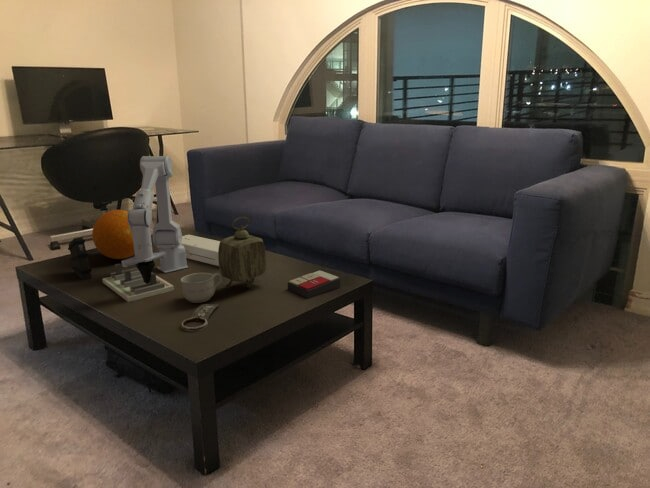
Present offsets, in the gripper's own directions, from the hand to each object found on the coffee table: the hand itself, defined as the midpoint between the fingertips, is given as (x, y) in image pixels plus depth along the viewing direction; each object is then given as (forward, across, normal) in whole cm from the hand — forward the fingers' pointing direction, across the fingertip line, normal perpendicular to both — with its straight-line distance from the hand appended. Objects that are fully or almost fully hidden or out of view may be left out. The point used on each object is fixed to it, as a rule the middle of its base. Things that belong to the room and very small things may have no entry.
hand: (147, 282), depth 185 cm
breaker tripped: (+2, +2, 0) cm, 3 cm away
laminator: (+4, +35, +23) cm, 42 cm away
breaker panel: (+4, 0, +9) cm, 10 cm away
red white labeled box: (+4, +45, -34) cm, 57 cm away
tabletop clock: (+4, +28, -17) cm, 33 cm away
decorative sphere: (+4, +8, +45) cm, 46 cm away
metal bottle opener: (+5, +4, -30) cm, 31 cm away
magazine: (+4, -11, +35) cm, 37 cm away
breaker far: (+2, -3, +18) cm, 18 cm away
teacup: (+4, +12, -17) cm, 21 cm away
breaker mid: (+2, -3, +9) cm, 10 cm away
